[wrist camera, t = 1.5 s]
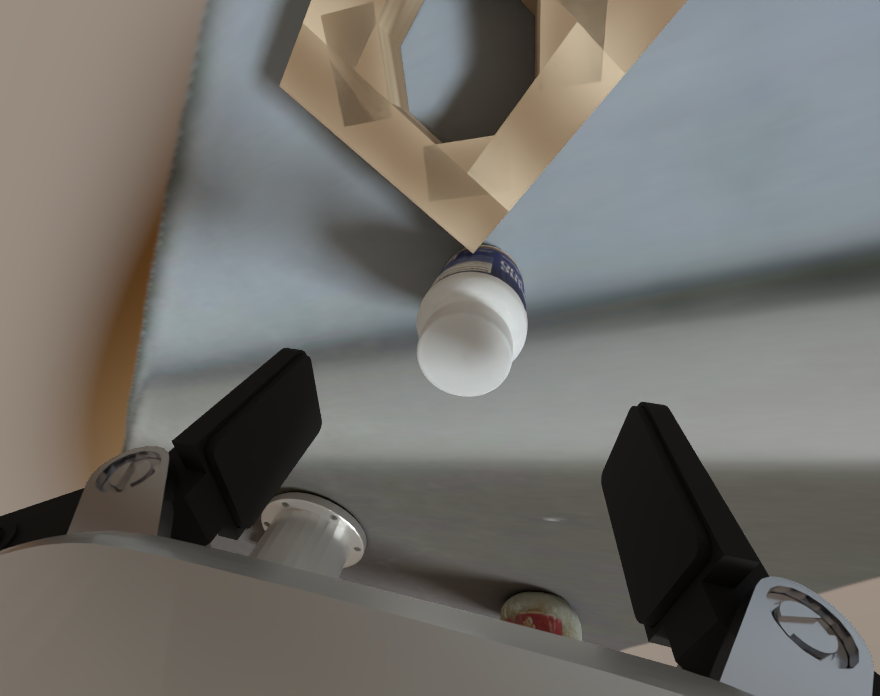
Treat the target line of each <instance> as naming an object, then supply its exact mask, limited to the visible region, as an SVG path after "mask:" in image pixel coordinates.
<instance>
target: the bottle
mask: <svg viewBox="0 0 880 696" xmlns="http://www.w3.org/2000/svg"><path fill="white" fill-rule="evenodd" d="M500 616H501V620H502V621H506V622H510V623H514V624H518V625H521V626H525V627H529V628H533V629H537V630H541V631H545V632H548V633H552V634H556V635H560V636H564V637H568V638H572V639H576V640H579V641H582V632H581V624H580V621H579V618H578V616H577V615H576V613H575V612H574V610H573V609H572V608H571V607H570V604H568V603H567V601H565V600H564V599H563V598H561V597H560V596H557V595H554V594H550V593H543V592H529V591H528V592H522V593H519V594H516V595H514V596H512V597H511V598H509V599H508V600H507V601H506V602H505V603H504V605H503V607H502V609H501V615H500Z"/></svg>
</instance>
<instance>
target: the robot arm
mask: <svg viewBox="0 0 880 696" xmlns="http://www.w3.org/2000/svg"><path fill="white" fill-rule="evenodd" d="M321 425H322V419H321V414H320V408H319V402H318V397H317V391H316V385H315V380H314V374H313V368H312V363H311V359H310V357H309V356H307V355H306V353H305V352H304V351H303V350H297V349H290V348H283V349H282V350H280V351H279V352H278V353H277V354H276V355H274V356H273V357H272V358H271V359H270V360H268V361H267V362H266V363H265V364H264V365H262V366H261V367H260V368H259V369H258V370H256V371H255V372H254V373H253V374H252V375H250V376H249V377H248V378H247V379H246V380H244V381H243V382H242V383H241V384H240V385H238V386H237V387H236V388H235V389H234V390H232V391H231V392H230V393H229V394H228V395H226V396H225V397H224V398H223V399H222V400H220V401H219V402H218V403H217V404H216V405H214V406H213V407H212V408H211V409H210V410H208V411H207V412H206V413H205V414H204V415H202V416H201V417H200V418H199V419H198V420H196V421H195V422H194V423H193V424H192V425H190V426H189V427H188V428H187V429H186V430H184V431H183V432H182V433H181V434H180V435H178V436H177V437H176V438H175V439H174V440H172V443H173V445H174V448H173V449H172V450H171V451H169V452H167V451H166V450H165V449H164V448H161V447H158V446H145V447H140V448H135V449H132V450H129V451H127V452H124V453H122V454H120V455H118V456H116V457H114V458H112V459H110V460H109V461H107V462H106V463H104V464H103V465H101V466H100V467H99V468H98V469H97V470H96V471H95V472H94V473H93V474H92V475H91V477H90V478H89V480H88V482H87V483H86V486H85V488H83V489H80V490H77V491H74V492H72V493H68V494H65V495H62V496H59V497H57V498H53V499H50V500H48V501H44V502H42V503H39V504H36V505H33V506H30V507H27V508H24V509H21V510H18V511H15V512H12V513H9V514H6V515H3V516H0V696H880V675H878V674H877V673H876V672H874V666H873V661H872V655H871V653H870V651H869V649H868V648H867V646H866V644H865V642H864V640H863V638H862V637H861V636H860V634H859V633H858V632H857V631H856V629H855V628H854V627H853V625H852V624H851V623H850V622H849V621H848V620H847V619H846V618H845V617H844V616H843V615H842V614H841V613H840V612H839V611H838V610H837V609H836V608H835V607H834V606H832V605H831V604H830V603H828V602H827V601H826V600H825V599H823V598H822V597H821V596H819V595H818V594H817V593H815V592H813V591H811V590H810V589H808V588H806V587H804V586H803V585H801V584H799V583H796V582H793V581H791V580H788V579H785V578H780V577H773V576H771V577H769V575H768V573H767V572H766V570H765V568H764V567H763V565H762V563H761V562H760V560H759V558H758V557H757V555H756V553H755V552H754V550H753V548H752V547H751V545H750V543H749V542H748V540H747V538H746V537H745V535H744V533H743V531H742V530H741V528H740V526H739V525H738V523H737V521H736V520H735V518H734V516H733V515H732V513H731V511H730V510H729V508H728V506H727V505H726V503H725V501H724V500H723V498H722V496H721V495H720V493H719V491H718V490H717V488H716V486H715V485H714V483H713V481H712V479H711V478H710V476H709V474H708V473H707V471H706V469H705V468H704V466H703V465H702V463H701V461H700V460H699V458H698V456H697V455H696V453H695V451H694V450H693V448H692V446H691V445H690V443H689V441H688V440H687V438H686V436H685V435H684V433H683V431H682V430H681V428H680V426H679V424H678V423H677V421H676V419H675V418H674V416H673V414H672V413H671V411H670V409H669V408H668V407H667V406H665V405H660V404H654V403H647V402H641V403H639V404H638V406H632V407H631V408H630V410H629V412H628V415H627V417H626V419H625V422H624V424H623V426H622V428H621V431H620V433H619V435H618V438H617V440H616V442H615V445H614V447H613V449H612V451H611V454H610V456H609V458H608V461H607V463H606V465H605V468H604V470H603V472H602V477H601V484H602V488H603V492H604V496H605V500H606V504H607V508H608V512H609V516H610V520H611V524H612V528H613V532H614V536H615V540H616V543H617V547H618V551H619V555H620V559H621V563H622V567H623V571H624V575H625V579H626V583H627V587H628V591H629V594H630V598H631V602H632V606H633V610H634V614H635V617H636V619H637V621H638V622H639V623H641V624H644V626H645V630H646V634H647V638H648V641H649V642H652V643H656V644H660V645H664V646H668V647H671V649H672V652H673V655H674V658H675V661H676V662H677V663H678V665H677V667H674V666H670V665H666V664H663V663H659V662H655V661H652V660H648V659H645V658H641V657H638V656H634V655H630V654H626V653H623V652H620V651H616V650H612V649H609V648H605V647H602V646H598V645H594V644H591V643H587V642H583V641H579V640H576V639H572V638H568V637H564V636H560V635H556V634H552V633H548V632H545V631H541V630H537V629H533V628H529V627H525V626H521V625H518V624H514V623H510V622H506V621H502V620H498V619H494V618H491V617H487V616H483V615H479V614H475V613H471V612H467V611H464V610H460V609H456V608H452V607H448V606H444V605H440V604H436V603H432V602H428V601H424V600H420V599H416V598H412V597H408V596H404V595H401V594H397V593H393V592H389V591H385V590H381V589H377V588H373V587H369V586H365V585H361V584H357V583H353V582H349V581H345V580H341V579H339V577H340V574H341V572H342V569H343V568H345V567H349V566H352V565H354V564H356V563H357V562H358V561H359V560H360V559H361V558H362V556H363V554H364V551H365V548H366V545H367V542H366V536H365V533H364V531H363V529H362V527H361V526H360V524H359V523H358V522H357V521H356V519H355V518H354V517H353V516H352V515H350V514H349V513H348V512H347V511H346V510H344V509H343V508H341V507H340V506H338V505H336V504H334V503H333V502H331V501H329V500H326V499H324V498H321V497H319V496H315V495H311V494H307V493H299V492H289V493H284V494H280V495H277V496H275V497H273V496H274V495H275V494H276V492H277V491H278V489H279V488H280V487H281V485H282V484H283V482H284V481H285V479H286V478H287V477H288V475H289V474H290V472H291V471H292V470H293V468H294V467H295V465H296V464H297V463H298V461H299V460H300V458H301V457H302V455H303V454H304V453H305V451H306V450H307V448H308V447H309V446H310V444H311V443H312V441H313V440H314V439H315V437H316V436H317V434H318V433H319V431H320V429H321ZM261 513H262V514H261ZM260 515H261V521H262V525H263V528H264V530H265V533H264V534H263V536H262V537H261V539H260V540H259V542H258V543H257V545H256V546H255V548H254V549H253V551H252V552H251V554H250V555H249V557H248V556H244V555H240V554H236V553H232V552H228V551H224V550H219V549H215V548H211V541H212V540H213V539H214V538H215V536H216V535H217V534H218V535H219V536H223V537H227V538H231V539H235V540H238V538H239V537H240V535H241V534H242V533H243V531H244V530H245V529H248V528H250V527H251V526H252V525H253V524H254V523H255V522H256V520H257V519H258V518H259V516H260Z"/></svg>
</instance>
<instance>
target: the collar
mask: <svg viewBox="0 0 880 696" xmlns="http://www.w3.org/2000/svg"><path fill="white" fill-rule="evenodd" d="M520 1H521V2H522V3H523V4H524V5H525V6H526V7H527V8H528V9H529V10H530V11H531V12H532V14H533V15H534V16H535V80H534V82H533V83H532V85H531V86H530V87H529V89H528V90H527V91H526V93H525V94H524V96H523V97H522V98H521V100H520V101H519V102H518V104H517V105H516V107H515V108H514V109H513V111H512V112H511V113H510V115H509V116H508V118H507V119H506V120H505V122H504V123H503V124H502V126H501V127H500V129H499V130H498V131H497V133H496V134H495V135H493V136H487V137H480V138H474V139H468V140H461V141H455V142H448V143H442V142H441V141H440V140H439V139H438V138H437V137H436V136H435V135H434V134H433V133H431V132H430V131H429V130H428V129H427V128H426V127H425V126H424V125H423V124H422V123H421V122H420V121H418V120H417V119H416V118H415V117H414V116H413V115H412V114H411V113H410V112H409V108H408V100H407V93H406V86H405V78H404V71H403V63H402V56H401V49H400V46H401V45H402V43H403V41H404V39H405V37H406V35H407V33H408V31H409V29H410V27H411V25H412V23H413V21H414V19H415V17H416V15H417V13H418V11H419V10H420V8H421V6H422V4H423V2H424V0H311V2H310V5H309V8H308V10H307V13H306V16H305V19H304V21H303V24H302V27H301V29H300V32H299V35H298V37H297V40H296V43H295V45H294V48H293V51H292V53H291V56H290V59H289V61H288V64H287V67H286V69H285V72H284V75H283V78H282V80H281V83H280V87H281V88H282V89H283V90H284V91H285V92H287V93H288V94H289V95H290V96H291V97H292V98H294V99H295V100H296V101H297V102H298V103H299V104H300V105H302V106H303V107H304V108H305V109H306V110H307V111H309V112H310V113H311V114H312V115H313V116H314V117H315V118H317V119H318V120H319V121H320V122H321V123H322V124H324V125H325V126H326V127H327V128H328V129H329V130H331V131H332V132H333V133H334V134H335V135H336V136H337V137H339V138H340V139H341V140H342V141H343V142H344V143H346V144H347V145H348V146H349V147H350V148H351V149H352V150H354V151H355V152H356V153H357V154H358V155H359V156H361V157H362V158H363V159H364V160H365V161H366V162H367V163H369V164H370V165H371V166H372V167H373V168H374V169H376V170H377V171H378V172H379V173H380V174H381V175H383V176H384V177H385V178H386V179H387V180H388V181H389V182H391V183H392V184H393V185H394V186H395V187H396V188H398V189H399V190H400V191H401V192H402V193H403V194H404V195H406V196H407V197H408V198H409V199H410V200H411V201H413V202H414V203H415V204H416V205H417V206H418V207H420V208H421V209H422V210H423V211H424V212H425V213H426V214H428V215H429V216H430V217H431V218H432V219H433V220H435V221H436V222H437V223H438V224H439V225H440V226H441V227H443V228H444V229H445V230H446V231H447V232H448V233H450V234H451V235H452V236H453V237H454V238H455V239H457V240H458V241H459V242H460V243H461V244H462V245H463V246H465V247H466V248H467V249H468V250H469V251H470V252H472V253H474V252H475V251H476V250H477V248H478V247H479V246H480V245H481V244H482V243H483V241H484V240H485V239H486V238H487V237H488V235H489V234H490V233H491V232H492V231H493V230H494V228H495V227H496V226H497V225H498V224H499V222H500V221H501V220H502V219H503V218H504V217H505V215H506V214H507V213H508V212H509V211H510V209H511V208H512V207H513V206H514V205H515V204H516V202H517V201H518V200H519V199H520V198H521V196H522V195H523V194H524V193H525V192H526V191H527V189H528V188H529V187H530V186H531V185H532V183H533V182H534V181H535V180H536V179H537V178H538V176H539V175H540V174H541V173H542V172H543V170H544V169H545V168H546V167H547V166H548V165H549V163H550V162H551V161H552V160H553V159H554V157H555V156H556V155H557V154H558V153H559V152H560V150H561V149H562V148H563V147H564V146H565V144H566V143H567V142H568V141H569V140H570V139H571V137H572V136H573V135H574V134H575V133H576V131H577V130H578V129H579V128H580V127H581V126H582V124H583V123H584V122H585V121H586V120H587V118H588V117H589V116H590V115H591V114H592V113H593V111H594V110H595V109H596V108H597V107H598V105H599V104H600V103H601V102H602V101H603V100H604V98H605V97H606V96H607V95H608V94H609V92H610V91H611V90H612V89H613V88H614V87H615V85H616V84H617V83H618V82H619V81H620V79H621V78H622V77H623V76H624V75H625V74H626V72H627V71H628V70H629V69H630V68H631V66H632V65H633V64H634V63H635V62H636V61H637V59H638V58H639V57H640V56H641V55H642V53H643V52H644V51H645V50H646V49H647V48H648V46H649V45H650V44H651V43H652V42H653V40H654V39H655V38H656V37H657V36H658V35H659V33H660V32H661V31H662V30H663V29H664V27H665V26H666V25H667V24H668V23H669V22H670V20H671V19H672V18H673V17H674V16H675V14H676V13H677V12H678V11H679V10H680V9H681V7H682V6H683V5H684V4H685V3H686V1H687V0H520Z"/></svg>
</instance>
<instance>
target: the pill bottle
mask: <svg viewBox="0 0 880 696" xmlns="http://www.w3.org/2000/svg"><path fill="white" fill-rule="evenodd" d="M417 331H418V336H419V341H418V345H417V359H418V363H419V366H420V368H421V370H422V372H423V374H424V375H425V377H426V378H427V379H428V380H429V381H430V382H431V383H432V384H433V385H435V386H436V387H437V388H439V389H441V390H442V391H445V392H447V393H449V394H452V395H457V396H465V397H471V396H478V395H483V394H485V393H488V392H490V391H492V390H494V389H495V388H497V387H498V386H499V385H500V384H501V383H502V382H503V381H504V380H505V378H506V377H507V375H508V373H509V371H510V368H511V364H512V362H513V361H514V360H515V358H516V357H517V356H518V355H519V353H520V351H521V350H522V348H523V346H524V343H525V340H526V335H527V313H526V304H525V294H524V285H523V279H522V275H521V272H520V269H519V267H518V265H517V264H516V262H515V261H514V260H513V258H512V257H511V256H510V255H509V254H507V253H506V252H504V251H503V250H501V249H499V248H496V247H493V246H489V245H480V246H479V247H478V248H477V250H476V251H475V252H474V253H472V252H470V251H469V250H468V249H467V248H465V249H463V250H461V251H459V252H457V253H456V254H455V255H454V256H453V257H452V258H451V259H450V260H449V261H448V262H447V263H446V265H445V266H444V268H443V269H442V271H441V273H440V274H439V275H438V277H437V278H436V280H435V281H434V283H433V285H432V286H431V288H430V289H429V291H428V292H427V293H426V295H425V296H424V299H423V301H422V303H421V305H420V307H419V311H418V315H417Z"/></svg>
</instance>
